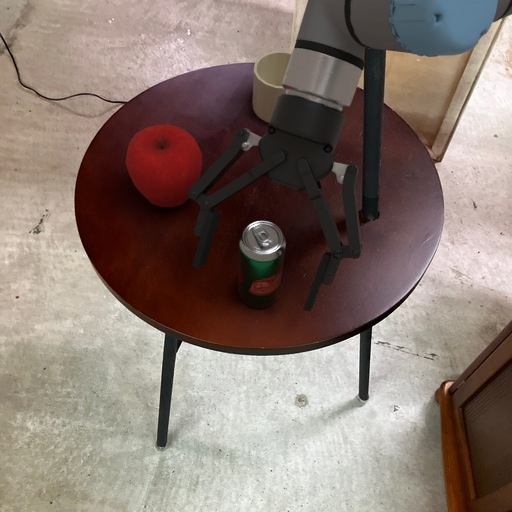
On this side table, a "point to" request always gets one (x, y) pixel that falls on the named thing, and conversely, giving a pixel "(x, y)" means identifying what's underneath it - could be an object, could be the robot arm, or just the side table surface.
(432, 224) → the side table surface
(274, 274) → the soda can
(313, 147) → the robot arm
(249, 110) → the side table surface
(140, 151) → the apple
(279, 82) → the cup
